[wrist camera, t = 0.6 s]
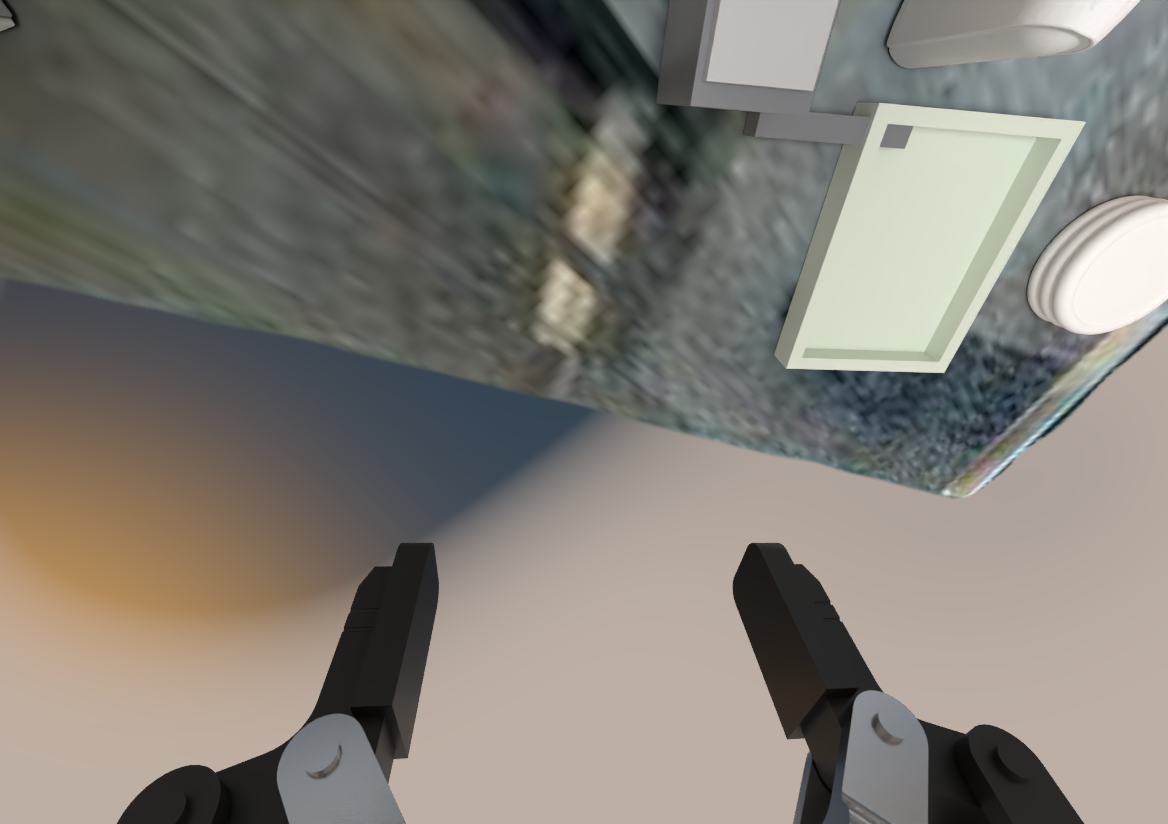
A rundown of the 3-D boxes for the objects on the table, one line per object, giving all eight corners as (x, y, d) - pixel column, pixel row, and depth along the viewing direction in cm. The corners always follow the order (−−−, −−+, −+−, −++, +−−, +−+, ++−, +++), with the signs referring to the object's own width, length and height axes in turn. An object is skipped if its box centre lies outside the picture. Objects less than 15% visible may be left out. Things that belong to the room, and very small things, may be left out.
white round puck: (1176, 248, 38) (1229, 261, 35) (1051, 340, 42) (1089, 359, 39) (1136, 163, 34) (1192, 170, 31) (1002, 274, 38) (1040, 289, 35)
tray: (857, 102, 30) (879, 102, 28) (1051, 120, 32) (1085, 121, 30) (773, 355, 40) (786, 368, 38) (924, 359, 41) (944, 372, 39)
